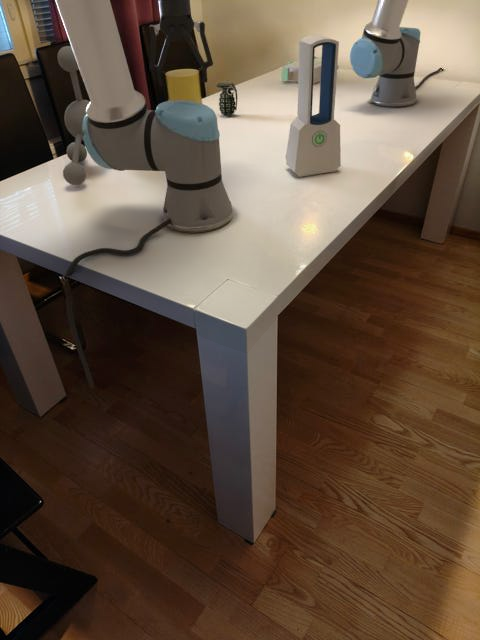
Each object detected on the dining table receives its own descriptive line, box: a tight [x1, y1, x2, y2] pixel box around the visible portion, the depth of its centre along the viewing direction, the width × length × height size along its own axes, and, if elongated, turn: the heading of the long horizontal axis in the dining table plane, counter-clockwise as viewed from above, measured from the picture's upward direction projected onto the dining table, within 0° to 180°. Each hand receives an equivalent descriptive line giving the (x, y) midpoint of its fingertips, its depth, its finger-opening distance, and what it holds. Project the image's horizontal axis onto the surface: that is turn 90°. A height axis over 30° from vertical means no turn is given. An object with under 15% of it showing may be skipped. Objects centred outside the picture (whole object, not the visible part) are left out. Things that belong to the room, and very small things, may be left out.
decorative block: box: [281, 55, 339, 85], centre depth 206 cm, size 26×6×20 cm
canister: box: [165, 68, 203, 104], centre depth 129 cm, size 9×9×10 cm
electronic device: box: [285, 34, 342, 178], centre depth 117 cm, size 12×8×30 cm, turn 105°
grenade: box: [215, 82, 238, 117], centre depth 166 cm, size 7×6×10 cm
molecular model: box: [57, 45, 90, 186], centre depth 125 cm, size 24×22×30 cm
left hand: (184, 97), depth 130 cm, fingers closed on canister, 9 cm apart
